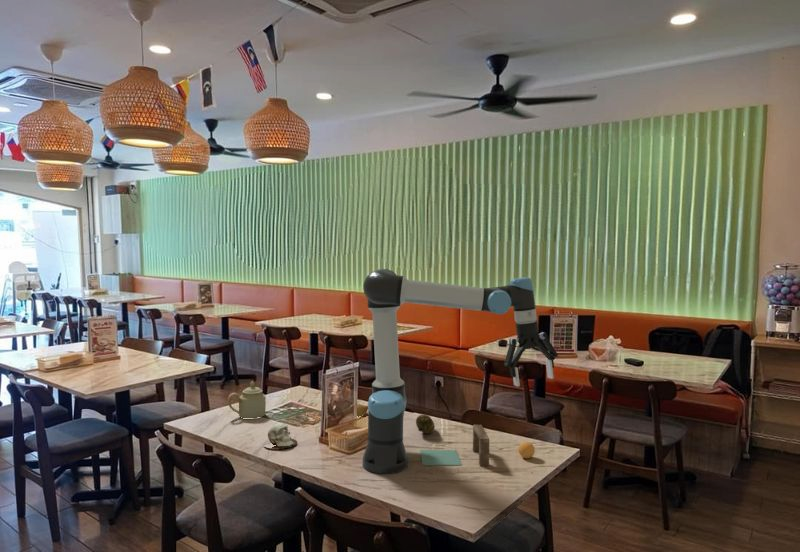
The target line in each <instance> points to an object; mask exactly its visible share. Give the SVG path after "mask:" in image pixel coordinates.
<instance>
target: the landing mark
mask: <svg viewBox="0 0 800 552" xmlns="http://www.w3.org/2000/svg"><path fill="white" fill-rule="evenodd" d="M419 453H420V456H421V457H420V459H421V463H422V466H463V464H462V462H461V459H460V457H459V453H458V451H457V449H420V450H419Z"/></svg>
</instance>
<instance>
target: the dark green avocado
mask: <svg viewBox="0 0 800 552" xmlns="http://www.w3.org/2000/svg"><path fill="white" fill-rule="evenodd" d="M415 423H416V424H415V425H416V428H417V429H418V431H419V432H422V433H425V434H431V433H433V432H434V431H435V427H436V426H435V422H434V420H433V419H432V417H430V416H429V415H427V414H420V415H418V416H417V417H416V419H415Z"/></svg>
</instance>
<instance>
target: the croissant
mask: <svg viewBox="0 0 800 552" xmlns="http://www.w3.org/2000/svg"><path fill="white" fill-rule="evenodd" d="M367 413H368V405H364V404H359V403H358V404H357V416H358V417H359V416H362V415H363V416H364V415H366V414H367ZM363 416H362V417H363Z"/></svg>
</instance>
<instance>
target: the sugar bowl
mask: <svg viewBox="0 0 800 552" xmlns="http://www.w3.org/2000/svg"><path fill="white" fill-rule="evenodd" d="M249 384H250V386H249V387H246V388H245V389H244V390H242V394H241V395H239V394H238V393H237V392H232V393H230V394H229V395H228V397H227V405H228V407H229V408H230V409H231V411H234V412H235V413H237V414H238V417H239V416H240V417H242V418H257V417H262V416H264V415H265V416H266V407H267V405H266V401H267V399H266V394H264V393H262V392H263V391H264V390H263V389H261V388H260V387H258V386H256V383H255V382H254V381H253V380H252V381H251V382H250V383H249ZM233 396H236V399H237V402H238V410H237V409H235V408H234V407H233V406H232V403H231V400H232V397H233ZM265 416H264V417H265ZM240 417H239V418H240ZM242 418H241V419H242ZM262 418H263V417H262Z"/></svg>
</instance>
